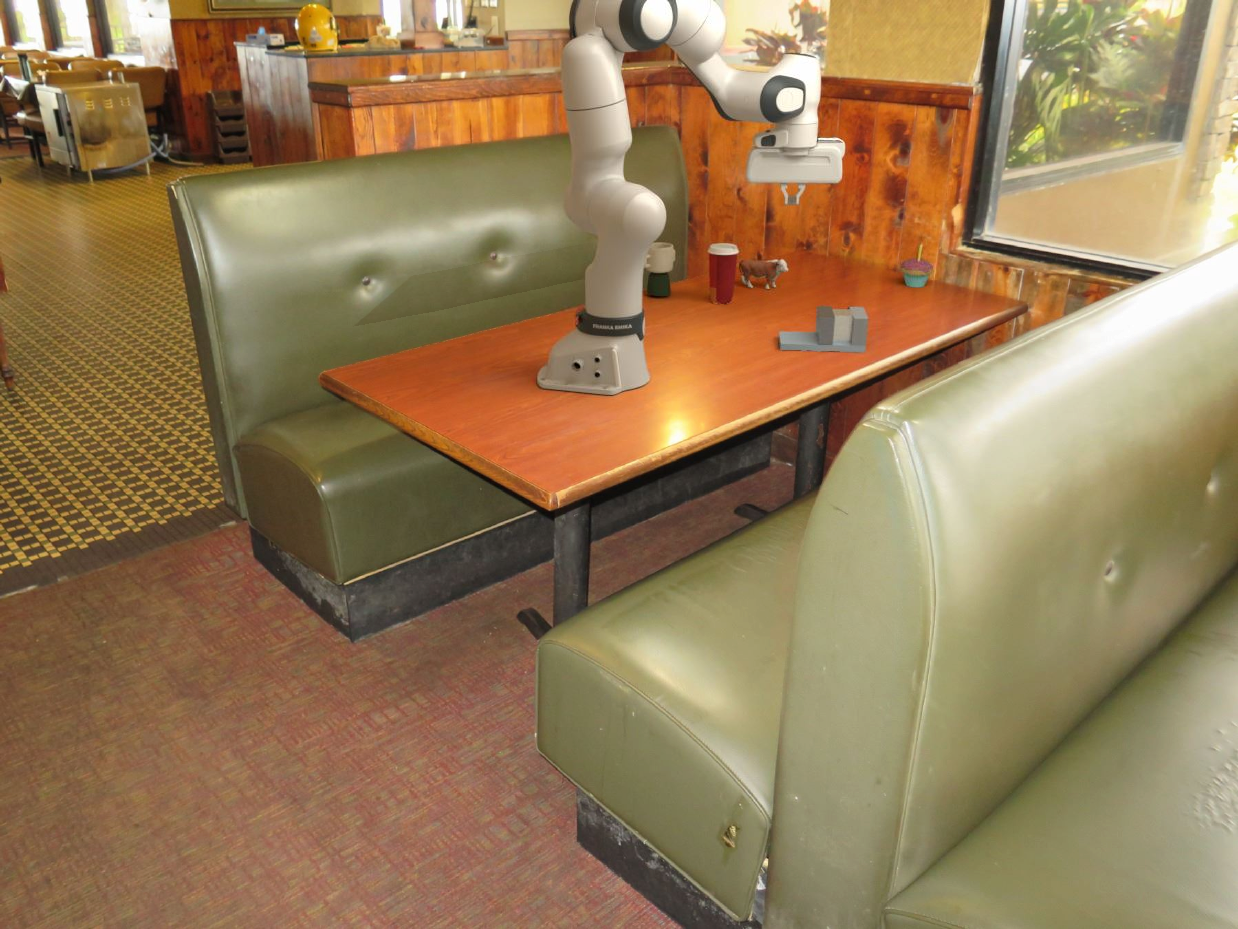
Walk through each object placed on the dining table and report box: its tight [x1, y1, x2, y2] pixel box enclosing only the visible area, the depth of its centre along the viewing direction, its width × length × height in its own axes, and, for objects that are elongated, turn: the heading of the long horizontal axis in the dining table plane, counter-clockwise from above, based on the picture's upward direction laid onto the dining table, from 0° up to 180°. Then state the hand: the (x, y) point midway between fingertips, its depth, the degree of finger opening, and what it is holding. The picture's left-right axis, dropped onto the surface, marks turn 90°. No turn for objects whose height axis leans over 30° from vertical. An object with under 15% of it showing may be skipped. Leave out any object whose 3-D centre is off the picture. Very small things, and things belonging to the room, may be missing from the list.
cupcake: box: [899, 241, 934, 288], centre depth 263 cm, size 9×8×12 cm
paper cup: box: [707, 242, 740, 305], centre depth 249 cm, size 8×8×14 cm
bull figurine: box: [738, 258, 789, 290], centre depth 262 cm, size 4×13×8 cm, turn 65°
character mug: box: [644, 241, 676, 298], centre depth 254 cm, size 11×7×13 cm, turn 131°
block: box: [832, 308, 853, 343], centre depth 217 cm, size 4×5×6 cm
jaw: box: [814, 305, 835, 345], centre depth 218 cm, size 3×9×6 cm, turn 174°
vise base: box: [778, 305, 869, 354], centre depth 222 cm, size 18×17×8 cm
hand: (791, 204), depth 214 cm, fingers closed
